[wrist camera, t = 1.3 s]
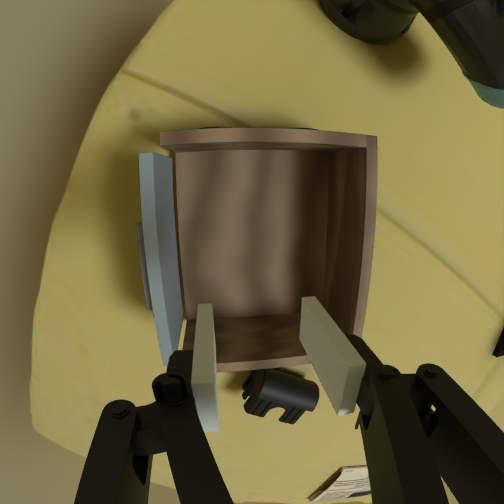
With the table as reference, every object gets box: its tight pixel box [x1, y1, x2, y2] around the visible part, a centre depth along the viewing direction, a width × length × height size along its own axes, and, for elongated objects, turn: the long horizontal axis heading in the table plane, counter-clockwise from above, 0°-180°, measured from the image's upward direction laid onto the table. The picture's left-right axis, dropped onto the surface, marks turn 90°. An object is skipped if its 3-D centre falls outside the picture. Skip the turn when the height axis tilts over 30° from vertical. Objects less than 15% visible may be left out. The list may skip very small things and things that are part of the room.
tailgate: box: [136, 152, 184, 366], centre depth 30 cm, size 2×20×11 cm, turn 1°
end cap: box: [242, 368, 319, 424], centre depth 42 cm, size 10×7×7 cm
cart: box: [160, 127, 377, 372], centre depth 32 cm, size 20×26×12 cm
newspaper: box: [309, 465, 371, 501], centre depth 61 cm, size 37×19×3 cm, turn 68°
